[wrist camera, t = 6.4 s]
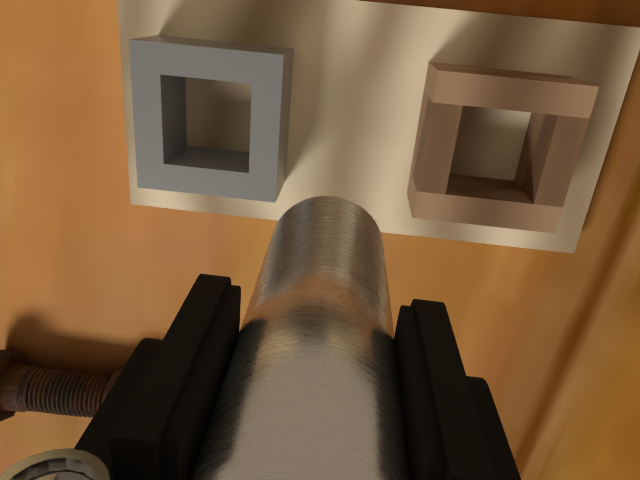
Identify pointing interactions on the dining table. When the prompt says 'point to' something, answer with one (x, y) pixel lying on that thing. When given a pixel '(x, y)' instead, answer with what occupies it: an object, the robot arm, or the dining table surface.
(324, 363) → the metal peg
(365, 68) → the socket board
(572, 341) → the dining table surface
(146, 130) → the gray square socket
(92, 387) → the bolt
